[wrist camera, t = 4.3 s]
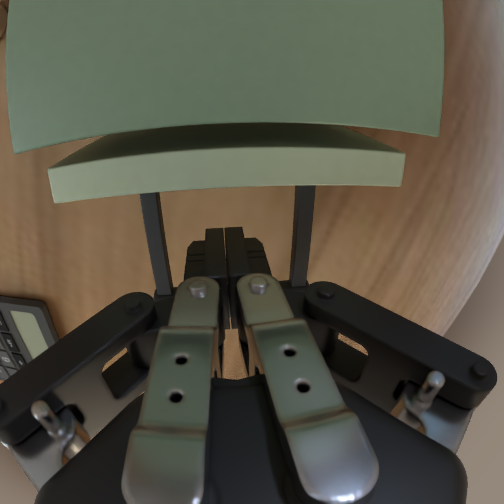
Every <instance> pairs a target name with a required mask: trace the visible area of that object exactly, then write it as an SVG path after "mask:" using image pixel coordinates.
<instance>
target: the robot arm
mask: <svg viewBox="0 0 504 504" xmlns="http://www.w3.org/2000/svg"><path fill="white" fill-rule="evenodd" d="M225 251H226V258H225ZM227 282H228V285H227ZM228 293H229V303H228ZM229 304H230V315H231V325H232V329H236V328H238V334H239V348H240V352H241V357H242V361H243V365H244V370H245V374H246V378H243V379H239V380H231V379H224V378H223V370H224V340H225V329H230V321H229ZM339 333H341V334H342V335H344V336H346V337H348V338H350V339H351V340H353V341H355V342H357V343H358V344H360V345H362V346H363V347H364V348H365V349H366V350H367V352H368V356H367V355H365V354H364V353H362V352H360V351H358V350H357V349H355V348H353V347H351V346H350V345H348V344H346V343H344V342H343V341H341V340H339V339H338V335H339ZM125 347H126V348H127V351H128V352H127V353H125V354H124V355H123V356H122V357H120V358H119V359H118V360H117V361H116V362H114V363H113V364H112V365H111V366H109V367H108V368H107V369H106V370H105V371H103V372H102V369H103V367H104V365H105V364H106V363H107V362H108V361H109V360H110V359H112V358H113V357H114V356H115V355H117V354H118V353H119V352H120V351H122V350H123V349H124V348H125ZM496 382H497V373H496V370H495V368H494V367H493V365H492V364H491V363H490V362H489V361H488V360H486V359H485V358H483V357H481V356H480V355H478V354H476V353H474V352H471V351H470V350H468V349H466V348H464V347H462V346H460V345H458V344H456V343H454V342H452V341H450V340H448V339H446V338H444V337H442V336H440V335H438V334H436V333H434V332H432V331H430V330H428V329H426V328H424V327H422V326H420V325H418V324H416V323H414V322H412V321H410V320H408V319H406V318H404V317H402V316H400V315H398V314H396V313H394V312H392V311H390V310H388V309H386V308H384V307H382V306H380V305H378V304H376V303H374V302H372V301H370V300H368V299H366V298H364V297H362V296H360V295H358V294H355V293H353V292H351V291H349V290H347V289H345V288H343V287H341V286H339V285H337V284H335V283H332V282H325V281H320V282H315V283H312V284H310V285H309V286H307V288H306V289H305V293H303V292H295V291H290V290H286V289H284V288H282V287H281V286H280V284H279V282H278V280H277V279H276V278H274V277H273V276H272V274H271V271H270V267H269V264H268V261H267V258H266V254H265V252H264V247H263V244H262V243H261V242H260V241H259V240H258V239H256V238H244V234H243V229H242V227H228V228H225V246H224V233H223V228H210V229H206V233H205V240H204V241H193V242H192V243H191V244H190V246H189V247H188V249H187V257H186V265H185V273H184V281H183V282H181V283H180V284H179V286H178V288H177V291H176V295H174V296H172V297H170V298H168V299H165V300H161V301H157V302H154V299H153V298H152V297H151V296H150V295H149V294H146V293H143V292H133V293H129V294H126V295H123V296H122V297H120V298H118V299H117V300H116V301H114V302H113V303H111V304H110V305H108V306H107V307H105V308H104V309H103V310H101V311H100V312H98V313H97V314H95V315H94V316H93V317H91V318H90V319H88V320H87V321H86V322H84V323H83V324H81V325H80V326H78V327H77V328H76V329H74V330H73V331H71V332H70V333H69V334H67V335H66V336H64V337H63V338H62V339H60V340H59V341H58V342H56V343H55V344H53V345H52V346H51V347H49V348H48V349H47V350H45V351H44V352H42V353H41V354H40V355H38V356H37V357H36V358H34V359H33V360H32V361H30V362H29V363H28V364H26V365H25V366H24V367H22V368H21V369H20V370H18V371H17V372H16V373H14V374H13V375H12V376H10V377H9V378H8V379H6V380H5V381H4V382H3V383H1V384H0V442H1V443H2V444H3V445H5V446H6V447H7V448H8V449H9V450H10V451H11V453H12V454H13V456H14V457H15V459H16V461H17V462H18V464H19V465H20V467H21V468H22V470H23V471H24V473H25V474H26V476H27V477H28V479H29V480H30V481H31V482H32V484H33V485H34V487H35V488H36V489H37V491H38V494H37V496H36V499H35V503H34V504H466V496H467V487H468V482H467V475H466V471H465V468H464V466H463V464H462V462H461V461H460V459H459V458H458V457H457V455H456V452H457V451H458V449H459V446H460V444H461V441H462V439H463V437H464V434H465V432H466V430H467V427H468V424H469V422H470V419H471V417H472V414H473V412H474V411H475V410H476V408H477V407H478V406H479V405H480V404H481V402H482V401H483V400H484V399H485V398H486V396H487V395H488V394H489V393H490V391H491V390H492V389H493V388H494V386H495V385H496ZM144 390H145V392H144V393H143V394H141V393H142V392H143V391H144ZM140 394H141V395H140ZM139 395H140V396H139ZM103 427H104V428H103ZM102 428H103V429H102ZM101 429H102V430H101ZM100 430H101V431H100ZM99 431H100V432H99ZM98 432H99V433H98ZM97 433H98V434H97ZM95 434H97V435H96V436H95V437H94V438H93V439H92V440H90V439H91V438H92V437H93V436H94V435H95Z"/></svg>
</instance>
